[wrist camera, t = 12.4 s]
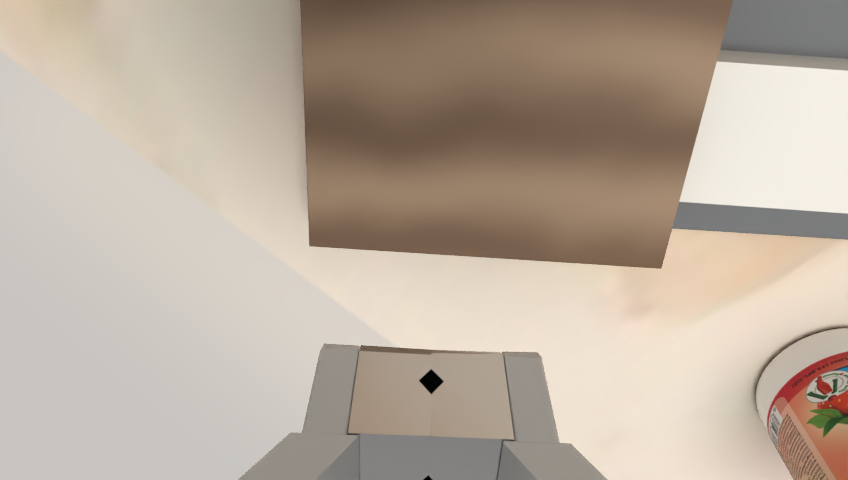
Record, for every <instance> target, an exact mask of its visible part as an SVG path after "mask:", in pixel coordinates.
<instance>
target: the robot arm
mask: <svg viewBox="0 0 848 480" xmlns="http://www.w3.org/2000/svg"><path fill="white" fill-rule="evenodd" d="M238 480H607V479H606V478H605V477H604V476H603V475H602V474H601V473H600V472H599V471H598V470H597V469H596V468H595V467H594V466H593V465H592V464H591V463H590V462H589V461H588V460H587V459H586V458H585V457H584V456H583V455H582V454H581V453H580V452H579V451H578V450H577V449H576V448H575V447H574V446H573V445H572V444H565V443H559V438H558V433H557V429H556V424H555V419H554V415H553V410H552V405H551V400H550V396H549V391H548V386H547V382H546V377H545V372H544V367H543V363H542V358H541V356H540V355H539V354H538V353H536V352H502V353H500V352H474V351H446V350H424V349H409V348H394V347H378V346H363V345H361V347H360V346H353V345H336V344H324V345H323V347H322V349H321V351H320V354H319V358H318V363H317V367H316V372H315V377H314V381H313V385H312V390H311V395H310V399H309V403H308V408H307V412H306V417H305V422H304V426H303V431H302V433H290V434H289V435H287V436H286V437H285V438H284V439H283V440H282V441H281V442H280V443H279V444H277V445H276V446H275V447H274V448H273V449H272V450H271V451H270V452H269V453H268V454H266V455H265V456H264V457H263V458H262V459H261V460H260V461H258V462H257V463H256V464H255V465H254V466H253V467H252V468H251V469H250V470H248V471H247V472H246V473H245V474H244V475H243V476H242V477H241V478H239V479H238Z"/></svg>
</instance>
